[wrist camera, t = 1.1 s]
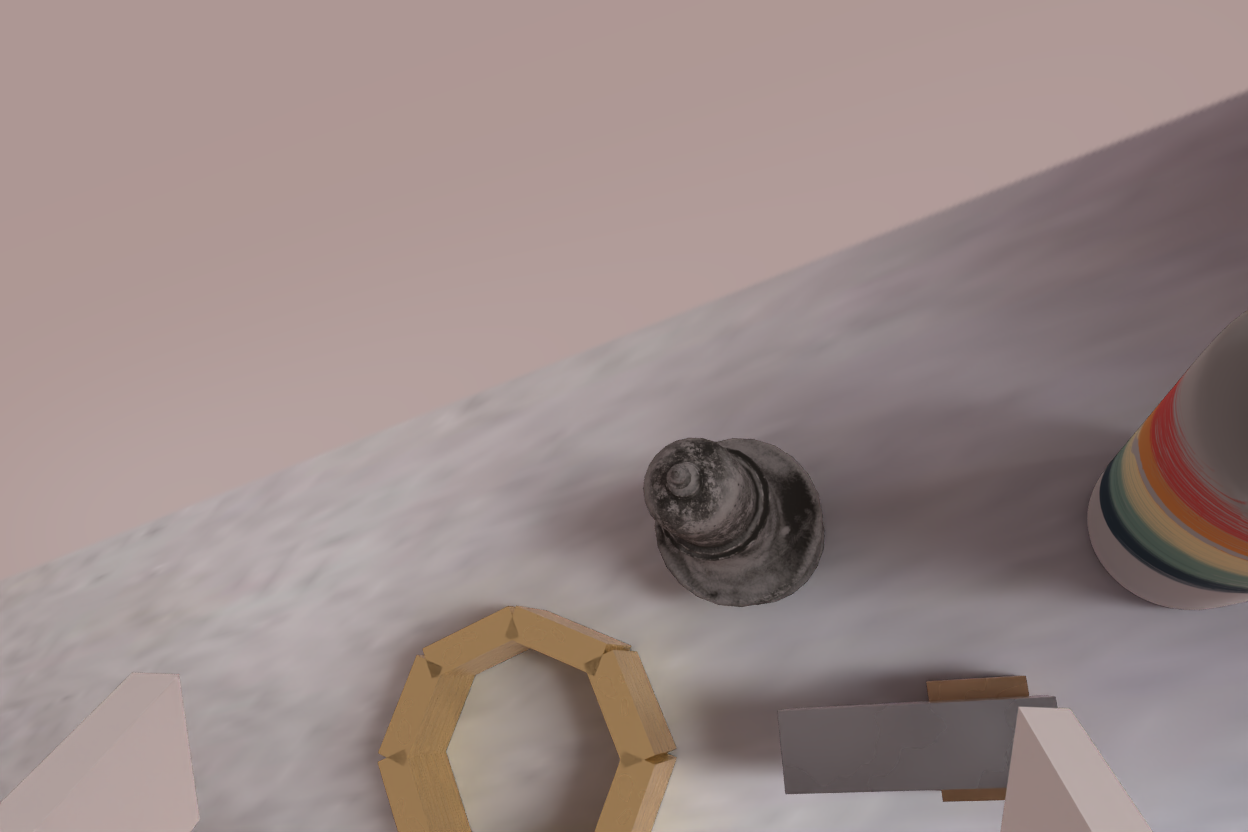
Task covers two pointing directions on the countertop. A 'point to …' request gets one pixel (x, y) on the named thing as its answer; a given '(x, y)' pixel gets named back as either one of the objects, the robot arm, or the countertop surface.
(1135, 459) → the lotion bottle
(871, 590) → the countertop surface
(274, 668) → the countertop surface
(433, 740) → the brass collar
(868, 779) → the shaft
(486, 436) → the countertop surface
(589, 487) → the countertop surface
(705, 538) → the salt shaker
